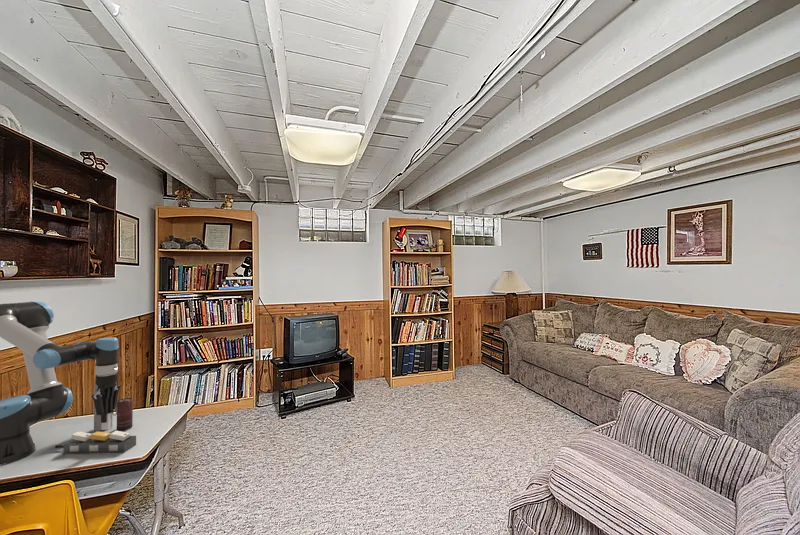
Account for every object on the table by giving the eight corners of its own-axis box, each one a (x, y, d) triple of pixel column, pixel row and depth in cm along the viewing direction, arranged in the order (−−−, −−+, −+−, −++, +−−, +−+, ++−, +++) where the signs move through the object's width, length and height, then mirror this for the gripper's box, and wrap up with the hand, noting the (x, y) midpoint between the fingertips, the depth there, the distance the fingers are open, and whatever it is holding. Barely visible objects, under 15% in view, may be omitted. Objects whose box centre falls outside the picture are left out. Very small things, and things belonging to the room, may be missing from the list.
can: (124, 431, 170) (124, 402, 171) (113, 430, 172) (113, 401, 172) (136, 426, 176) (136, 397, 177) (125, 425, 178) (125, 397, 178)
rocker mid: (90, 438, 152) (91, 434, 152) (96, 435, 155) (97, 431, 155) (104, 440, 152) (105, 436, 152) (110, 437, 155) (111, 433, 155)
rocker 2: (109, 438, 152) (110, 433, 152) (115, 434, 155) (116, 430, 155) (123, 440, 152) (124, 436, 152) (128, 437, 155) (129, 433, 155)
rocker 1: (70, 438, 151) (71, 434, 151) (77, 435, 155) (78, 431, 155) (85, 441, 151) (86, 437, 152) (91, 438, 155) (92, 433, 155)
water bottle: (97, 433, 169) (97, 380, 169) (90, 429, 173) (91, 377, 173) (120, 426, 177) (120, 375, 177) (113, 422, 181) (114, 373, 181)
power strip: (48, 454, 149) (48, 444, 149) (63, 446, 156) (63, 436, 156) (124, 452, 150) (124, 443, 150) (136, 444, 157) (136, 435, 157)
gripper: (103, 378, 147) (102, 435, 147) (126, 369, 161) (126, 422, 160) (85, 378, 147) (84, 436, 147) (109, 370, 160) (108, 422, 160)
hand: (106, 428), depth 153 cm, fingers closed
